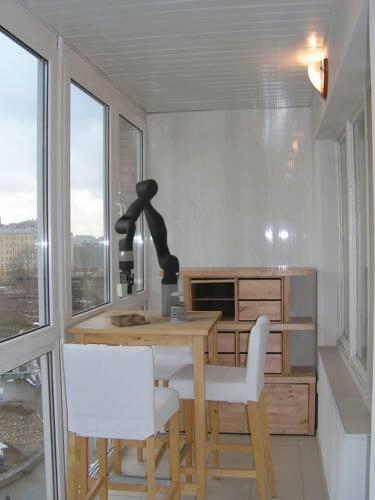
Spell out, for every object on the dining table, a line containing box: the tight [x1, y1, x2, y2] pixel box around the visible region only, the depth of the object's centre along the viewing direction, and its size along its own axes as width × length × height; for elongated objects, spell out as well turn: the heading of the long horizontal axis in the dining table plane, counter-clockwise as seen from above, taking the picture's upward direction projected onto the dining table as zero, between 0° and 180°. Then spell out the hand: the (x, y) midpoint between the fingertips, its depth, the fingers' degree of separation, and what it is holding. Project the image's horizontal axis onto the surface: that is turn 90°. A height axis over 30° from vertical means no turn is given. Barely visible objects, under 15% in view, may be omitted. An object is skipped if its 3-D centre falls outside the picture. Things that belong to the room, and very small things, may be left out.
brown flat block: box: [110, 313, 146, 328], centre depth 274 cm, size 13×12×4 cm
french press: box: [165, 272, 189, 324], centre depth 278 cm, size 10×12×25 cm
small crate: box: [116, 282, 138, 298], centre depth 273 cm, size 8×6×6 cm
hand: (127, 293), depth 273 cm, fingers closed on small crate, 6 cm apart
